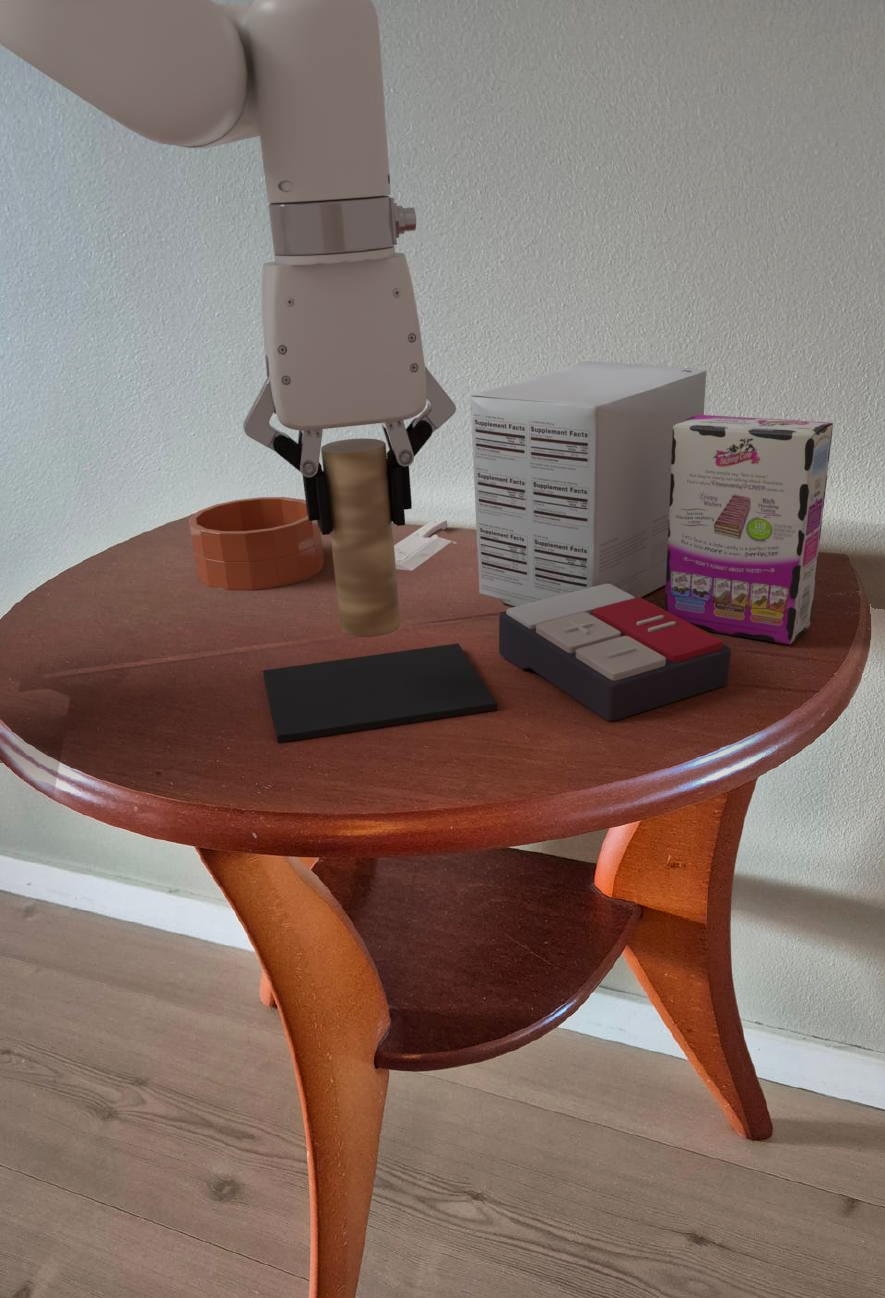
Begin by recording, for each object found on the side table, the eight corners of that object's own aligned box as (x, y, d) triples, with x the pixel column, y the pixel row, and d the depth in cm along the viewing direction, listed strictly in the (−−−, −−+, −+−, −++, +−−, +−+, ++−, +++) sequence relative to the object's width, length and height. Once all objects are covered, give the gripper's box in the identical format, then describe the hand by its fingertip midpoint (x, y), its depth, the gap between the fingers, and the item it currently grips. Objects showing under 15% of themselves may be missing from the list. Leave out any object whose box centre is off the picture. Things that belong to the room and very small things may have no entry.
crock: (201, 601, 103) (190, 539, 100) (197, 562, 113) (187, 505, 110) (331, 585, 105) (325, 523, 102) (315, 548, 115) (309, 491, 112)
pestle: (345, 640, 78) (325, 456, 71) (336, 619, 82) (317, 442, 75) (405, 632, 78) (391, 448, 72) (394, 612, 82) (379, 435, 76)
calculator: (612, 676, 74) (496, 603, 85) (609, 731, 76) (496, 653, 88) (735, 639, 78) (610, 574, 90) (728, 692, 81) (607, 623, 92)
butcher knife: (475, 530, 117) (475, 520, 117) (415, 575, 106) (414, 564, 105) (433, 526, 119) (432, 516, 119) (369, 570, 108) (368, 559, 107)
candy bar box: (812, 626, 89) (837, 420, 81) (791, 647, 86) (815, 434, 78) (685, 605, 95) (696, 410, 87) (660, 624, 92) (670, 423, 83)
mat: (277, 743, 76) (276, 735, 76) (263, 676, 86) (262, 669, 86) (497, 710, 79) (497, 702, 79) (458, 649, 89) (458, 642, 89)
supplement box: (582, 548, 110) (583, 359, 101) (698, 570, 103) (711, 368, 94) (472, 598, 99) (464, 391, 91) (593, 627, 92) (597, 404, 83)
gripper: (451, 222, 72) (464, 498, 81) (193, 241, 69) (236, 525, 78) (480, 226, 65) (491, 525, 74) (196, 247, 63) (243, 555, 72)
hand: (360, 522), depth 76 cm, fingers closed on pestle, 4 cm apart
